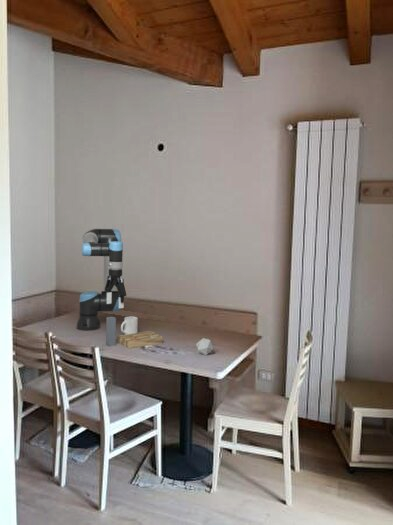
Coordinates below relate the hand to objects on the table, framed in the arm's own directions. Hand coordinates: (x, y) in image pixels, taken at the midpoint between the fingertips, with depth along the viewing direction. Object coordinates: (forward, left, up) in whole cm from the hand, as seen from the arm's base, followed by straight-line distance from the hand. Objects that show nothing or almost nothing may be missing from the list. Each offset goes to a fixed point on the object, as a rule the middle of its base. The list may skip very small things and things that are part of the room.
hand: (114, 305), depth 266 cm
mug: (-16, +17, -23) cm, 33 cm away
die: (+38, +36, -23) cm, 57 cm away
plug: (-1, -2, -23) cm, 23 cm away
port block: (+3, +15, -23) cm, 28 cm away
